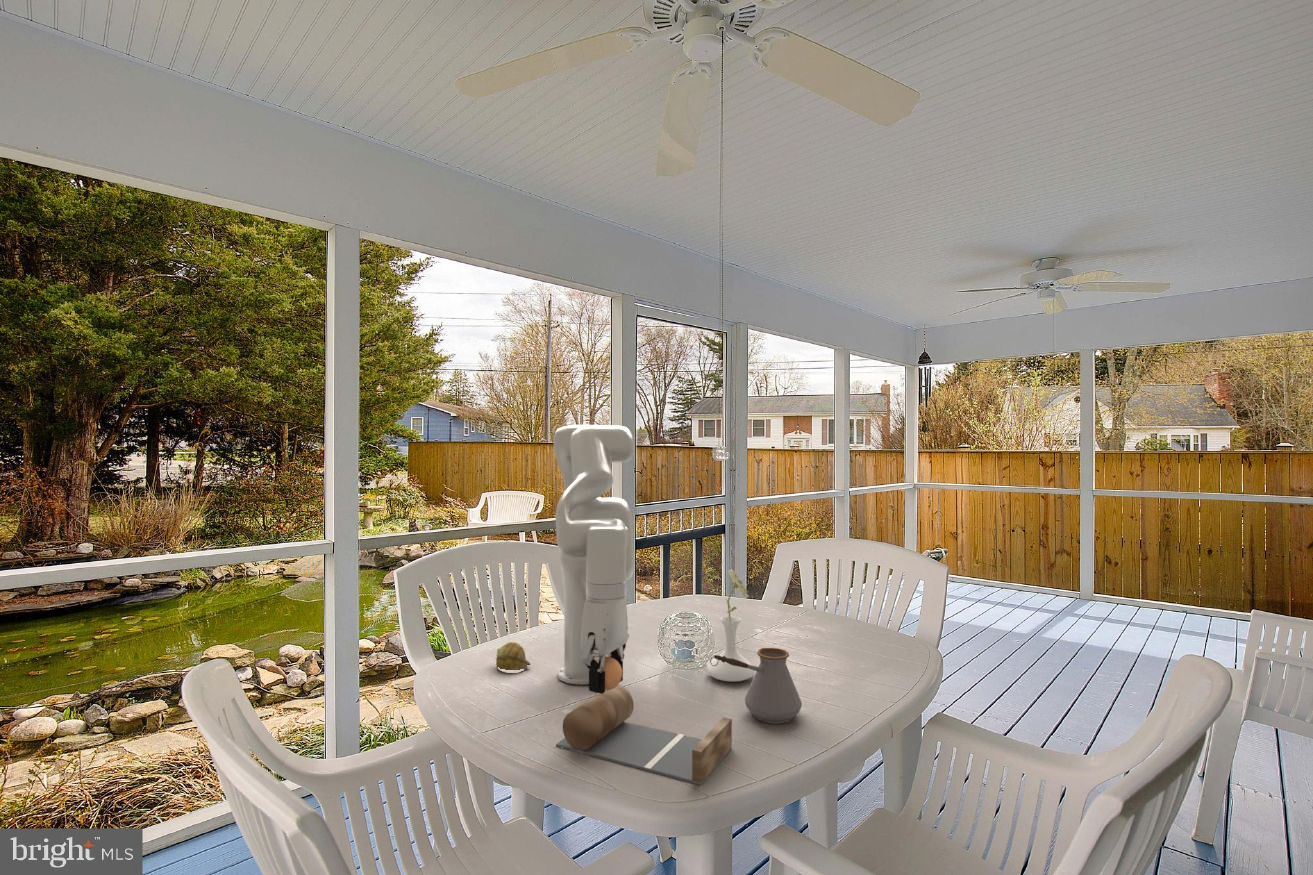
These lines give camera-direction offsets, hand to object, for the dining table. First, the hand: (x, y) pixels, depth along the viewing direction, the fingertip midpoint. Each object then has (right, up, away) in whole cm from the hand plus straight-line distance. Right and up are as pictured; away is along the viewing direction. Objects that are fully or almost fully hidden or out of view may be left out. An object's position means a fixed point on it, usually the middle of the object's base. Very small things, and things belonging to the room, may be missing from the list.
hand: (606, 685), depth 122 cm
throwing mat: (+7, -10, -4) cm, 13 cm away
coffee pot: (+29, -10, +7) cm, 32 cm away
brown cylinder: (-1, -10, +1) cm, 10 cm away
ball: (0, +2, 0) cm, 2 cm away
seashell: (-26, -10, +38) cm, 47 cm away
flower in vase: (+27, -10, +32) cm, 43 cm away
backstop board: (+19, -10, -10) cm, 24 cm away
